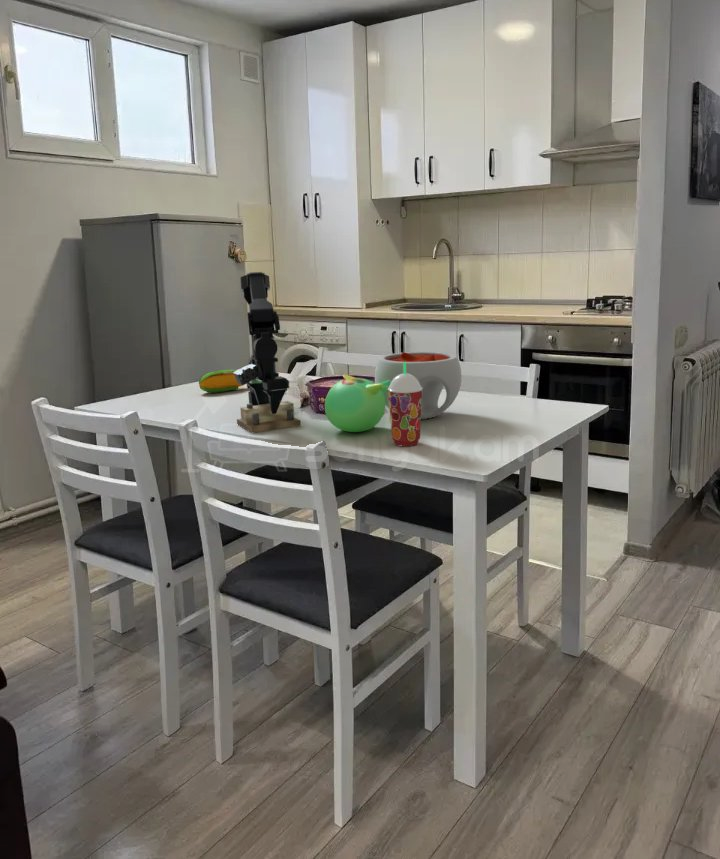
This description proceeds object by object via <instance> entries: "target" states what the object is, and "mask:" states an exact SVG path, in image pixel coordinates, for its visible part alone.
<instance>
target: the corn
mask: <svg viewBox="0 0 720 859" xmlns="http://www.w3.org/2000/svg"><path fill="white" fill-rule="evenodd" d="M237 370H238V369H222V370H216V371H211V372H208V373H206V374H203V375H202V376H201V377H200V378H199V381H198V384H199V385H198V386H199V388H200V390H201V391H203V392H206V393H209V394H217V392H219V393H224V392H223V391H226V392H230V391H229V390H232V391H235V389H236V390H238V389H239V387H243V386H244V385H246V384H244V385H241V384H240V383H239V384H238V383H237V380H236V378H235V376H234V372H235V371H237Z"/></svg>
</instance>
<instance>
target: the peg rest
mask: <svg viewBox="0 0 720 859" xmlns="http://www.w3.org/2000/svg"><path fill="white" fill-rule="evenodd" d="M252 420H253V424H247V425H246V424H245V423H243V422H241V418H237V419H236V425H237V424H238V425H237V426H239V425H240V426H239V427H241V426H242V427H241V428H243V427H244V428H243V429H244V430H246V429H247V430H246V431H248V430H249V431H248V432H250V431H251V433H252V432H255V433H260V432H267V431H268V432H269V431H274V430H275V431H276V430H281V429H287V427H288V428H294V427H293V426H295V427H301V426H302V423H301V419H299V418H296V417H295V412H294V413H293V409H292V408H289V409H287V419H281V420H274V421H267V422H261V423H259V413H253V414H252ZM300 425H301V426H300Z"/></svg>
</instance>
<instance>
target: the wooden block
mask: <svg viewBox="0 0 720 859" xmlns="http://www.w3.org/2000/svg"><path fill="white" fill-rule="evenodd" d="M294 406H295V404H294V403H293V402H291V401H288V400H287V401H281V403H280V405H279V408H278V410H277V413H276V414H272V411H271V407H270V404H263V405H256V406H253V404H249V403H246V406H241V407H240V419H241V422H243V423H245V424H246V425H247V424H253V420H252V414H253V413H259V423H261V422H267V421H274V420H281V419H287V409H289V408H292V409H293V413H294V414H295V407H294Z"/></svg>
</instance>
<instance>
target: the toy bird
mask: <svg viewBox="0 0 720 859" xmlns="http://www.w3.org/2000/svg"><path fill="white" fill-rule="evenodd" d="M342 377H343V379H342V380H339V381H338V382H336V383H335V384H334V385H333V386H332V387H331V388H329V391H328V393H327V395H326V397H325V400H324V413H325V415H326V418H327V419H328V421H329V422H330V424H332V425H333V427H335V428H337V429H338V430H341V431H344V432H349V433H361V432H366V431H369V430H371V429H372V428H374V427H375V426H376V425H378V424H379V423H380V422H381V420H382V418H383V416H384V415H385V414H384V413H385V409H386V405H385V397H384V394H385V392H386V391H387V390H388V388H389V386H390V383H391V381H390V380H388V381H385V382H382V383H378V384H375V382H373V381H371V380H368V379H366V378H364V377H355V376H351V375H348V374H342Z"/></svg>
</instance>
